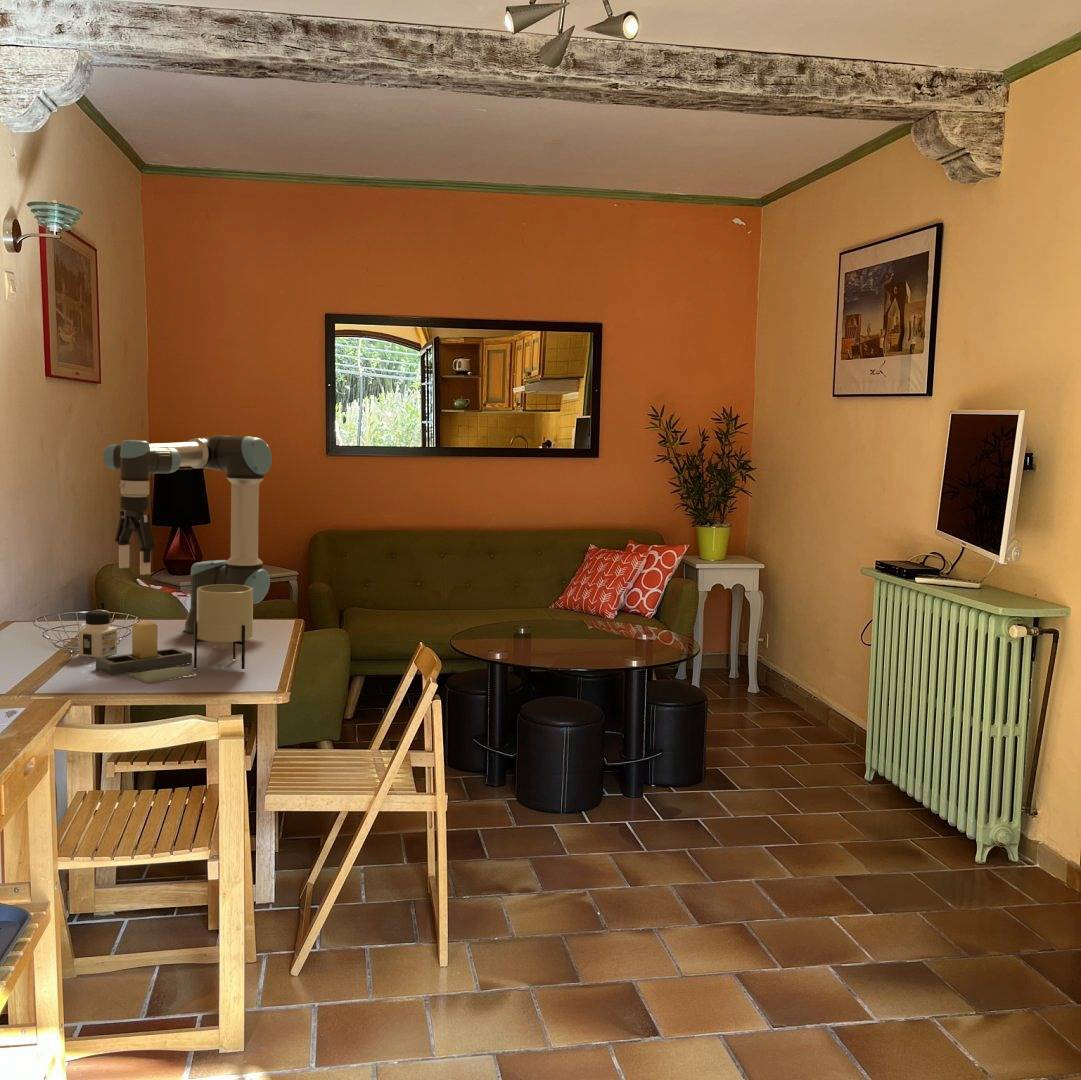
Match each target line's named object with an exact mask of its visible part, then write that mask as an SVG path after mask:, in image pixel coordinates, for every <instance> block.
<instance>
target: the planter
mask: <svg viewBox="0 0 1081 1080" xmlns="http://www.w3.org/2000/svg"><path fill="white" fill-rule="evenodd" d="M253 606H254V604H253V588H252V587H249V586H245V585H236V584H215V585H206V586H201V587H199V588H197V622H194V633H193V636H194V637H193V638H194V639H193V641H194V642H193V643H194V644H193V645H194V646H193V651H194V652H193V669H194V668H197V665H198V662H197V661H198V659H197V658H198V657H197V656H198V643H200V642H201V643H203V642H204V643H205V642H209V643H232V660H233V659H236V654H237V652H236V648H237V645H241V669H245V665H246V663H245V661H246V660H245V659H246V656H245V655H246V640H249V639H251V638H252V637H253V628H254V627H253V622H254V621H253V620H254V619H253V617H254V616H253V615H254V613H253V612H254V607H253ZM236 644H237V645H236ZM197 669H198V668H197ZM245 670H246V669H245Z"/></svg>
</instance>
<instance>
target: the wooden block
mask: <svg viewBox="0 0 1081 1080" xmlns="http://www.w3.org/2000/svg"><path fill="white" fill-rule="evenodd" d="M158 632H159V631H158V625H157V623H154V622H152V621H140V622H139V621H137V622H133V623H132V625H131V633H132V635H131V637H132V638H131V650H132V651H131V654H132V657H135V658H137V659H146V658H153V657H157V650H158Z"/></svg>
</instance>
